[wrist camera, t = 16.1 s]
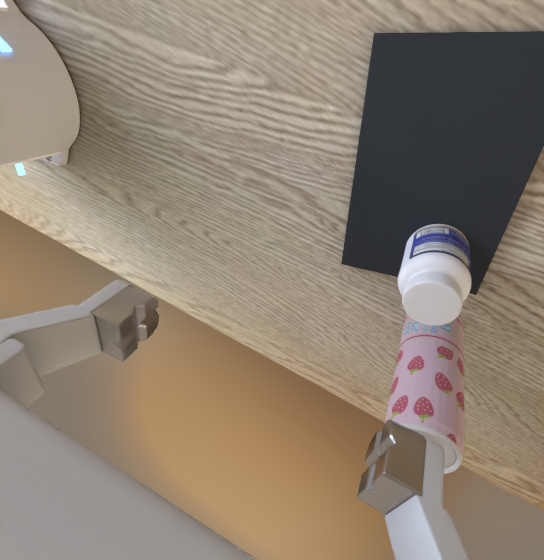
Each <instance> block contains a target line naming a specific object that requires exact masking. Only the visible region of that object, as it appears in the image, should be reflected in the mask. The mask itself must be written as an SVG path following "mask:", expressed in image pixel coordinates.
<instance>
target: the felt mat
mask: <svg viewBox="0 0 544 560" xmlns="http://www.w3.org/2000/svg"><path fill="white" fill-rule="evenodd" d="M543 146H544V32H453V33H375V34H374V39H373V46H372V53H371V60H370V67H369V74H368V81H367V88H366V95H365V102H364V109H363V116H362V123H361V130H360V137H359V144H358V151H357V159H356V166H355V173H354V180H353V187H352V194H351V201H350V208H349V215H348V222H347V229H346V236H345V243H344V250H343V257H342V264H344V265H349V266H353V267H357V268H362V269H366V270H371V271H375V272H379V273H384V274H388V275H392V276H397V277H398V275H399V271H400V267H401V263H402V259H403V255H404V250H405V247H406V244H407V241H408V240H409V238H410V237H411V235H412V234H413V233H415V232H416V231H417V230H419V229H420V228H422V227H425V226H428V225H432V224H445V225H449V226H452V227H454V228H456V229H458V230H459V231H460V232H461V233H463V235H464V236H465V237H466V239H467V241H468V244H469V251H470V266H471V289H470V292H469V293H471V294H475V295H476V294H477V291H478V289H479V287H480V285H481V283H482V280H483V278H484V276H485V274H486V272H487V269H488V267H489V265H490V263H491V261H492V258H493V256H494V254H495V252H496V249H497V247H498V245H499V243H500V241H501V238H502V236H503V234H504V232H505V230H506V227H507V225H508V223H509V221H510V219H511V216H512V214H513V212H514V210H515V208H516V205H517V203H518V201H519V199H520V196H521V194H522V192H523V190H524V188H525V185H526V183H527V181H528V179H529V177H530V174H531V172H532V170H533V168H534V166H535V163H536V161H537V159H538V157H539V155H540V152H541V150H542V148H543Z"/></svg>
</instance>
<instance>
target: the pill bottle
mask: <svg viewBox="0 0 544 560" xmlns="http://www.w3.org/2000/svg"><path fill="white" fill-rule="evenodd" d="M398 288H399V291H400V293H401V295H402V296H403V297H402V305H403V308H404V310H405V312H406V314H407V315H408V316H409V317H410V318H412V319H413V320H415V321H416V322H419V323H421V324H425V325H431V326H438V325H444V324H447V323H449V322H451V321H453V320H454V319H456V318H457V317H458V315H459V314H460V312H461V309H462V302H463V301H464V300H465V299H466V298H467V296H468V294H469V292H470V289H471V266H470V251H469V244H468V241H467V239H466V237H465V236H464V235H463V233H461V232H460V231H459V230H458V229H456V228H454V227H452V226H449V225H445V224H432V225H428V226H425V227H422V228H420V229H419V230H417V231H416V232H415V233H413V234H412V235H411V237H410V238H409V240H408V241H407V244H406V247H405V250H404V255H403V259H402V263H401V267H400V271H399V275H398Z"/></svg>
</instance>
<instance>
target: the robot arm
mask: <svg viewBox="0 0 544 560" xmlns="http://www.w3.org/2000/svg"><path fill="white" fill-rule="evenodd" d="M79 127H80V112H79V104H78V99H77V95H76V92H75V89H74V85H73V83H72V80H71V78H70V75H69V73H68V71H67V68H66V66H65V65H64V63H63V61H62V59H61V57H60V56H59V54H58V52H57V51H56V49H55V48H54V46H53V45H52V44H51V42H50V41H49V40H48V38H47V37H46V36H45V35H44V34H43V33H42V32H41V31H40V29H38V28H37V27H36V26H35V25H34V24H33V23H32V22H31V21H30V20H28V19H27V18H26V17H25V16H24V15H23V14H22V13H21V11H20V10H19V8H18V7H17V5H16V4H15V2H14V1H13V0H0V167H3V166H9V165H13V164H15V166H16V169H17V172H18V175H19V176H22V175H25V174H26V173H25V170H24V167H23V164H22V162H27V161H31V160H36V159H42V160H44V161H47V162H49V163H51V164H54V165H56V166H62V165H66V164H67V161H68V154H69V148H70V147H71V145H72V144H73V143H74V141H75V140H76V138H77V135H78V132H79ZM157 307H158V300H157V299H156V298H154V297H152V296H150V295H148V294H147V293H145V292H143V291H141V290H139V289H137V288H135V287H133V286H132V285H130V284H128V283H126V282H124V281H122V280H120V279H119V280H115V281H113V282H112V283H110V284H109V285H107V286H106V287H105V288H103V289H102V290H100V291H99V292H97V293H96V294H94V295H93V296H92V297H90V298H89V299H87V300H86V301H84V302H83V303H81V304H80V305H79V306H77V305H75V304H73V305H68V306H63V307H59V308H54V309H49V310H45V311H40V312H36V313H30V314H26V315H21V316H16V317H12V318H7V319H2V320H0V560H257V559H256V558H254V557H253V556H251V555H250V554H248V553H246V552H245V551H244V550H242V549H240V548H239V547H238V546H236V545H234V544H233V543H232V542H230V541H229V540H227V539H226V538H224V537H222V536H221V535H219V534H218V533H216V532H215V531H213V530H212V529H210V528H209V527H207V526H206V525H204V524H203V523H201V522H200V521H198V520H197V519H195V518H194V517H192V516H191V515H189V514H188V513H186V512H185V511H183V510H182V509H180V508H179V507H177V506H176V505H174V504H173V503H171V502H169V501H168V500H166V499H165V498H164V497H162V496H161V495H159V494H157V493H156V492H154V491H153V490H151V489H150V488H148V487H147V486H145V485H144V484H142V483H141V482H139V481H138V480H136V479H135V478H133V477H132V476H130V475H129V474H127V473H126V472H124V471H123V470H121V469H120V468H118V467H117V466H115V465H114V464H112V463H111V462H109V461H108V460H106V459H105V458H103V457H101V456H100V455H98V454H97V453H96V452H94V451H92V450H91V449H89V448H88V447H86V446H85V445H83V444H82V443H80V442H79V441H77V440H76V439H74V438H73V437H71V436H70V435H68V434H67V433H65V432H64V431H62V430H61V429H59V428H58V427H56V426H55V425H53V424H52V423H50V422H49V421H47V420H46V419H44V418H42V417H41V416H40V415H38V414H36V413H35V412H33V411H32V410H31V409H29V408H28V406H29V405H30V404H31V403H33V402H34V401H35V400H36V399H37V398H38V397H39V396H41V395H42V394H43V393H44V390H45V387H44V386H43V383H42V381H41V379H40V376H42V375H45V374H48V373H50V372H53V371H56V370H58V369H61V368H63V367H66V366H68V365H71V364H74V363H76V362H79V361H81V360H84V359H87V358H89V357H92V356H94V355H97V354H99V353H102V351H103V352H105V353H107V354H109V355H111V356H112V357H115V358H116V359H118V360H120V361H122V362H123V361H125V360H126V359H127V358H128V357H129V356H130V355H131V354H132V353H133V352H134V351H135V350H136V349H137V347H138V342H139V341H143V340H146V339H148V338H149V337H150V336H151V335H152V334H153V332H154V330H155V329H156V327H157V325H158V321H159V315H158V313H157V312H156V310H155V309H156V308H157ZM444 456H445V451H444V448H443V446H442V445H440V444H438V443H436V442H434V441H432V440H430V439H428V438H426V437H424V436H423V435H421V434H419V433H417V432H415V431H413V430H411V429H409V428H407V427H405V426H403V425H401V424H399V423H397V422H395V421H393V420H391V419H390V420H387V422H386V423H385V424H384V427H383V431H378V432H377V433H376V434H375V435H374V437H373V438H372V440H371V442H370V444H369V447H368V450H367V455H366V458H365V461H366V464H367V466H368V469H367V470H366V471H365V472H364V473H363V474H362V476H361V481H360V485H359V491H358V495H357V498H358V499H360V500H362V501H363V502H365V503H367V504H368V505H370V506H371V507H373V508H375V509H376V510H378V511H380V512H381V513H383V514H385V516H384V517H385V521H386V525H387V529H388V533H389V537H390V541H391V545H392V549H393V553H394V557H395V560H470V559H469V557H468V554H467V552H466V550H465V548H464V546H463V543H462V541H461V539H460V536H459V534H458V532H457V530H456V527H455V525H454V523H453V521H452V519H451V516H450V514H449V512H448V511H446V510H445V509H443V492H444V490H443V489H444Z"/></svg>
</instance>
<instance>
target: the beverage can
mask: <svg viewBox="0 0 544 560" xmlns="http://www.w3.org/2000/svg"><path fill="white" fill-rule="evenodd" d="M390 419H391V420H393V421H395V422H397V423H399V424H401V425H403V426H405V427H407V428H409V429H411V430H413V431H415V432H417V433H419V434H421V435H423V436H424V437H426V438H428V439H430V440H432V441H434V442H436V443H438V444H440V445H442V446H443V448H444V451H445V456H444V474H446V473H450V472H452V471H455V470H456V469H457V468H458V467H459V466H460V465H461V463H462V456H463V454H464V452H465V450H464V325H463V321H462V320H461V318H460V316H459V315H458V317H457V318H456V319H454V320H453V321H451V322H449V323H447V324H444V325H438V326H431V325H425V324H421V323H419V322H416V321H415V320H413V319H412V318H410V317H409V316H408V315H406V317H405V320H404V325H403V331H402V336H401V341H400V346H399V351H398V357H397V362H396V367H395V372H394V377H393V383H392V388H391V393H390V398H389V403H388V409H387V414H386V419H385V423H386V422H387V420H390Z"/></svg>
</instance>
